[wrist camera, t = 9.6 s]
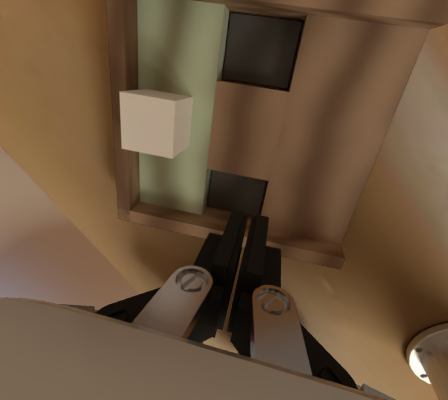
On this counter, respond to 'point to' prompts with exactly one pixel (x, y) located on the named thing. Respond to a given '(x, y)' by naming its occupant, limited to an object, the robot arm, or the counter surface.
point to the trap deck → (264, 110)
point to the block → (155, 122)
